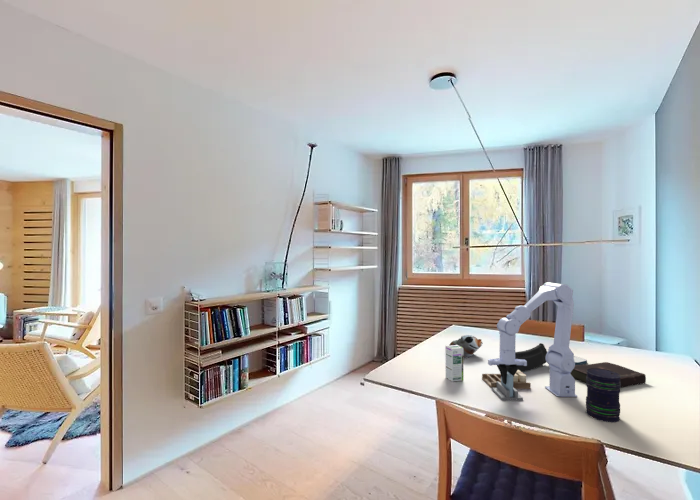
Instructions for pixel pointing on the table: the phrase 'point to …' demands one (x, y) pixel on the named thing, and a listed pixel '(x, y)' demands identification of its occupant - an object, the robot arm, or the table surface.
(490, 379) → the rack
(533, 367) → the magazine
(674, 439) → the table surface
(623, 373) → the diary
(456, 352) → the syrup box
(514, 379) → the offcut
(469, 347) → the lucky cat figurine
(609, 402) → the storage jar
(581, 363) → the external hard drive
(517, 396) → the holder
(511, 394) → the tall board
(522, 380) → the offcut
